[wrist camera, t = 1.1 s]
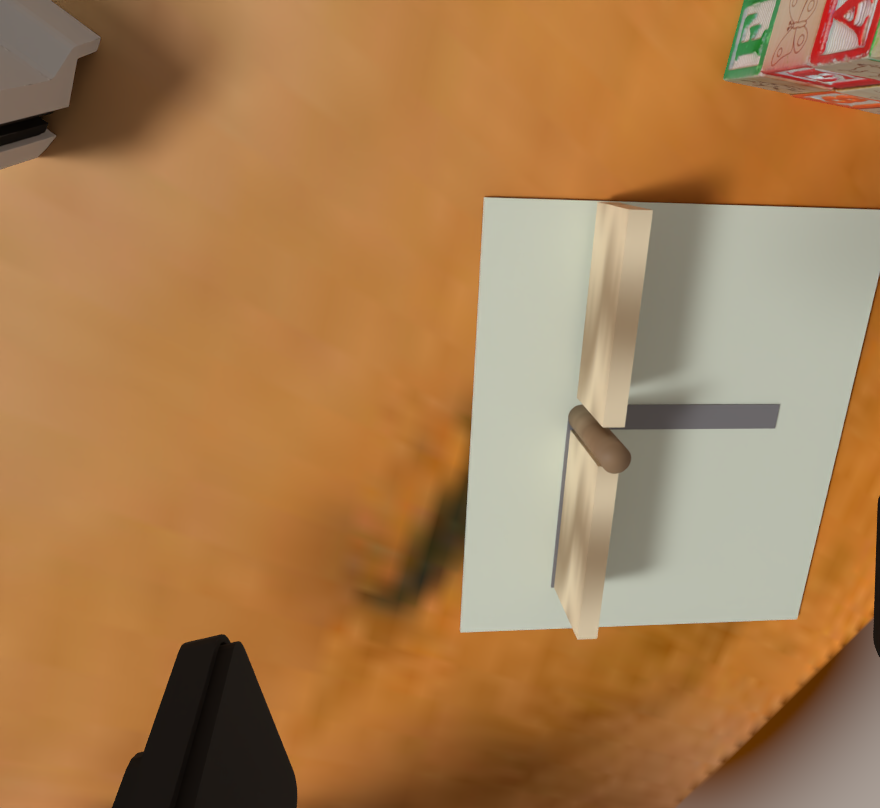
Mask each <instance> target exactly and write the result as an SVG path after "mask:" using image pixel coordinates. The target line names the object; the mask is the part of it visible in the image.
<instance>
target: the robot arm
mask: <svg viewBox="0 0 880 808" xmlns="http://www.w3.org/2000/svg"><path fill="white" fill-rule="evenodd" d="M873 632H874V633H873V638H874V645H875V648H876V651H877V653H878V655H879V657H880V497H879V499H878V511H877V541H876V571H875V601H874V631H873ZM296 807H297V785H296V779H295V775H294V772H293V769H292V766H291V764H290V761H289V759H288V756H287V754H286V751H285V749H284V746H283V744H282V741H281V739H280V736H279V734H278V731H277V729H276V726H275V724H274V721H273V719H272V716H271V714H270V711H269V709H268V706H267V704H266V701H265V699H264V696H263V694H262V691H261V689H260V686H259V684H258V681H257V679H256V676H255V673H254V671H253V668H252V666H251V663H250V661H249V658H248V656H247V653H246V651H245V649H244V647H243V645H242V643H241V642H239V641H237V642H233V643H230V641H229V639H228V638H227V637H226V636H225V635H222V634H221V635H217V636H212V637H208V638H204V639H199V640H195V641H191V642H186V643H184V644H183V645H182V646H181V648H180V650H179V652H178V655H177V658H176V661H175V664H174V667H173V669H172V672H171V675H170V678H169V681H168V684H167V687H166V690H165V692H164V695H163V698H162V701H161V704H160V707H159V710H158V712H157V715H156V718H155V721H154V724H153V727H152V730H151V733H150V735H149V738H148V741H147V744H146V747H145V750H144V752H140V753H137V754H136V755H135V756H134V757H133V758H132V759H131V761H130V763H129V765H128V767H127V769H126V771H125V774H124V777H123V779H122V782H121V785H120V787H119V790H118V793H117V796H116V798H115V801H114V804H113V807H112V808H296Z"/></svg>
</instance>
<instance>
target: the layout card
mask: <svg viewBox="0 0 880 808" xmlns="http://www.w3.org/2000/svg"><path fill="white" fill-rule="evenodd" d="M597 202H619V203H623V204H628V205H632V206H637V207H641V208H645V209H650V210H653V214H652V222H651V230H650V237H649V245H648V253H647V260H646V268H645V276H644V283H643V291H642V299H641V306H640V314H639V321H638V329H637V337H636V344H635V352H634V360H633V367H632V375H631V383H630V390H629V398H628V406H627V413H626V421H625V427H608V428H609V429H610V430H611V431H612V432H613V434H614V435H615V436H616V437H617V438H618V439H619V440H620V441H621V442H622V444H623V445H624V446H625V447H626V448H627V449H628V450H629V452H630V454H631V462H630V465H629V466H628V468H627V469H626V470H624V471H623V472H621V473H619V474H618V482H617V490H616V497H615V505H614V512H613V520H612V528H611V535H610V543H609V551H608V558H607V566H606V574H605V581H604V589H603V597H602V604H601V612H600V619H599V627H610V626H635V625H660V624H686V623H711V622H736V621H762V620H787V619H797V617H798V613H799V609H800V605H801V601H802V596H803V592H804V588H805V584H806V580H807V575H808V571H809V567H810V563H811V559H812V554H813V550H814V546H815V542H816V538H817V533H818V529H819V525H820V521H821V517H822V512H823V508H824V504H825V500H826V496H827V491H828V487H829V483H830V479H831V475H832V471H833V466H834V462H835V458H836V454H837V450H838V445H839V441H840V437H841V433H842V429H843V424H844V420H845V416H846V412H847V408H848V403H849V399H850V395H851V391H852V387H853V382H854V378H855V374H856V370H857V366H858V361H859V357H860V353H861V349H862V345H863V341H864V336H865V332H866V328H867V324H868V320H869V315H870V311H871V307H872V303H873V299H874V294H875V290H876V286H877V282H878V278H879V273H880V210H879V209H847V208H815V207H783V206H751V205H719V204H687V203H655V202H623V201H591V200H559V199H527V198H495V197H484V204H483V222H482V240H481V258H480V277H479V295H478V313H477V331H476V349H475V367H474V385H473V403H472V421H471V440H470V458H469V476H468V494H467V512H466V530H465V548H464V566H463V585H462V603H461V621H460V632H483V631H509V630H534V629H559V628H572V626H571V624H570V622H569V620H568V618H567V615H566V613H565V611H564V609H563V606H562V604H561V602H560V600H559V597H558V595H557V593H556V591H555V589H554V583H555V574H556V564H557V554H558V545H559V535H560V526H561V516H562V506H563V497H564V487H565V478H566V468H567V458H568V449H569V439H570V430H574V429H573V428H572V427H571V425H570V423H569V418H568V415H569V412H570V411H571V409H572V408H574V407H575V406H577V405H583V404H582V403H581V402H580V401H579V400H578V399H577V391H578V382H579V373H580V363H581V354H582V344H583V335H584V325H585V316H586V306H587V297H588V287H589V278H590V269H591V259H592V250H593V240H594V231H595V221H596V212H597Z"/></svg>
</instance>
